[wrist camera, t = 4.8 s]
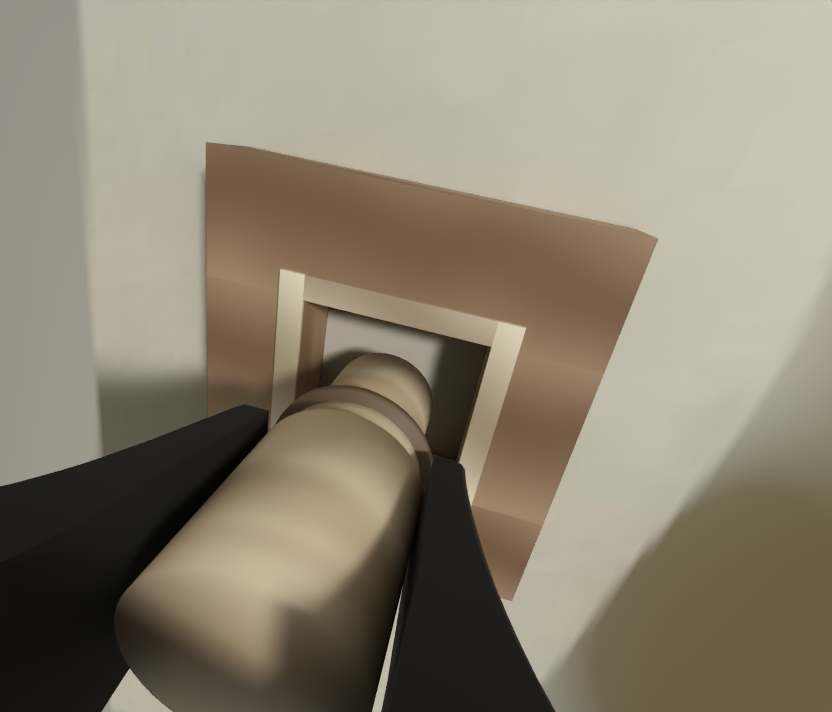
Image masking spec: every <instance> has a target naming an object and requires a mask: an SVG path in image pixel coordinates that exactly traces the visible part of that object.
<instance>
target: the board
mask: <svg viewBox="0 0 832 712" xmlns="http://www.w3.org/2000/svg"><path fill="white" fill-rule="evenodd" d="M657 241H658V238H655V237H653V236H651V235H648V234H646V233H644V232H641V231H639V230H636V229H633V228H629V227H624V226H619V225H614V224H610V223H605V222H600V221H596V220H591V219H586V218H581V217H577V216H572V215H567V214H563V213H558V212H553V211H548V210H544V209H539V208H534V207H530V206H525V205H520V204H515V203H511V202H506V201H501V200H497V199H492V198H487V197H482V196H478V195H473V194H468V193H464V192H459V191H454V190H449V189H445V188H440V187H435V186H431V185H426V184H421V183H416V182H412V181H407V180H402V179H398V178H393V177H388V176H383V175H379V174H374V173H369V172H365V171H360V170H355V169H350V168H346V167H341V166H336V165H332V164H327V163H322V162H317V161H313V160H308V159H303V158H299V157H294V156H289V155H284V154H280V153H275V152H270V151H266V150H261V149H256V148H251V147H245V146H235V145H226V144H217V143H208V142H206V252H207V405H208V417H211V416H213V415H216V414H218V413H221V412H223V411H226V410H229V409H231V408H234V407H237V406H240V405H243V404H246V405H250V406H253V407H257V408H260V409H264V410H268V411H269V419H268V432H269V431H270V430H271V429H272V427H274V426H275V424H276V422H277V420H278V419H279V417H280V416H281V414H282V413H283V412H284V411H285V410H286V409H287V407H288V406H289V405H290V404H291V403H292V402H293V401H295V400H296V399H297V398H298V397H300V396H301V395H303V394H305V393H306V392H309V391H311V390H313V389H316V388H319V387H320V378H321V369H322V360H323V351H324V342H325V333H326V324H327V315H328V307H332V308H336V309H340V310H344V311H348V312H352V313H356V314H360V315H364V316H368V317H373V318H377V319H381V320H385V321H389V322H393V323H397V324H401V325H405V326H409V327H413V328H417V329H421V330H425V331H429V332H433V333H437V334H441V335H445V336H450V337H454V338H458V339H462V340H466V341H470V342H474V343H478V344H482V345H486V346H487V350H486V353H485V357H484V361H483V364H482V368H481V372H480V375H479V379H478V382H477V386H476V390H475V393H474V397H473V401H472V404H471V408H470V411H469V415H468V419H467V422H466V426H465V430H464V433H463V437H462V440H461V444H460V448H459V451H458V455H457V459H456V460H452V459H449V458H445V457H441V456H438V455H434V454H432V463H433V459H434V457H438V458H441V459H445V460H449V461H452V462H456V463H460V464H462V466H463V467H464V469H465V476H466V484H467V490H468V496H469V501H470V505H471V510H472V514H473V518H474V522H475V525H476V529H477V532H478V535H479V539H480V542H481V546H482V549H483V552H484V555H485V558H486V561H487V564H488V567H489V570H490V572H491V575H492V578H493V581H494V583H495V586H496V589H497V591H498V594H499V596H500V598H503V599H506V600H510V601H512V600H513V597H514V595H515V592H516V590H517V587H518V585H519V582H520V580H521V577H522V575H523V572H524V570H525V567H526V565H527V563H528V560H529V558H530V555H531V553H532V550H533V548H534V545H535V543H536V540H537V538H538V535H539V533H540V530H541V528H542V525H543V523H544V520H545V518H546V516H547V513H548V511H549V508H550V506H551V503H552V501H553V498H554V496H555V493H556V491H557V488H558V486H559V483H560V481H561V478H562V476H563V473H564V471H565V468H566V466H567V464H568V461H569V459H570V456H571V454H572V451H573V449H574V446H575V444H576V441H577V439H578V436H579V434H580V431H581V429H582V426H583V424H584V421H585V419H586V417H587V414H588V412H589V409H590V407H591V404H592V402H593V399H594V397H595V394H596V392H597V389H598V387H599V384H600V382H601V379H602V377H603V374H604V372H605V370H606V367H607V365H608V362H609V360H610V357H611V355H612V352H613V350H614V347H615V345H616V342H617V340H618V337H619V335H620V332H621V330H622V327H623V325H624V322H625V320H626V318H627V315H628V313H629V310H630V308H631V305H632V303H633V300H634V298H635V295H636V293H637V290H638V288H639V285H640V283H641V280H642V278H643V275H644V273H645V271H646V268H647V266H648V263H649V261H650V258H651V256H652V253H653V251H654V248H655V246H656V243H657Z"/></svg>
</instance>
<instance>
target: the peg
mask: <svg viewBox="0 0 832 712" xmlns="http://www.w3.org/2000/svg"><path fill="white" fill-rule="evenodd" d="M432 406H433V400H432V393H431V390H430V387H429V384H428V383H427V381H426V379H425V378H424V376H423V375H422V374H421V372H420V371H419V370H418V369H417V368H416V367H414V366H413V365H412V364H411V363H409V362H408V361H406V360H404V359H402V358H400V357H397V356H394V355H390V354H385V353H372V354H366V355H363V356H360V357H358V358H356V359H354V360H353V361H351V362H350V363H349V364H348V365H346V367H345V368H344V369H343V370H342V371H341V373H340V374H339V375H338V376H337V378H336V379H335V380H334V381H333V383H332V384H331V385H330V386H324V387H320V388H316V389H313V390H311V391H309V392H306V393H305V394H303V395H301V396H300V397H298V398H297V399H296V400H295V401H293V402H292V403H291V404H290V405H289V406H288V407H287V409H286V410H285V411H284V412H283V413H282V414H281V416H280V417H279V419H278V420H277V422H276V424H275V426H274V427H272V429H271V430H270V431H269V432H268V433H267V434H266V435H265V436H264V437H263V439H262V440H261V441H260V442H259V443H258V444H257V445H256V446H255V447H254V449H253V450H252V451H251V452H250V453H249V454H248V455H247V456H246V457H245V459H244V460H243V461H242V462H241V463H240V464H239V465H238V466H237V467H236V469H235V470H234V471H233V472H232V473H231V474H230V475H229V476H228V477H227V479H226V480H225V481H224V482H223V483H222V484H221V485H220V486H219V487H218V489H217V490H216V491H215V492H214V493H213V494H212V495H211V496H210V497H209V499H208V500H207V501H206V502H205V503H204V504H203V505H202V506H201V507H200V509H199V510H198V511H197V512H196V513H195V514H194V515H193V516H192V517H191V519H190V520H189V521H188V522H187V523H186V524H185V525H184V526H183V528H182V529H181V530H180V531H179V532H178V533H177V534H176V535H175V536H174V538H173V539H172V540H171V541H170V542H169V543H168V544H167V545H166V546H165V548H164V549H163V550H162V551H161V552H160V553H159V554H158V555H157V556H156V558H155V559H154V560H153V561H152V562H151V563H150V564H149V565H148V566H147V568H146V569H145V570H144V571H143V572H142V573H141V574H140V575H139V576H138V578H137V579H136V580H135V581H134V582H133V583H132V584H131V585H130V586H129V588H128V589H127V590H126V591H125V592H124V594H123V595H122V596H121V598H120V600H119V602H118V604H117V606H116V610H115V615H114V630H115V636H116V640H117V643H118V646H119V649H120V651H121V653H122V655H123V657H124V659H125V661H126V663H127V664H128V666H129V667H130V669H131V670H132V672H133V673H134V674H135V676H136V677H137V678H138V679H139V681H140V682H141V683H142V684H143V685H144V686H145V687H146V688H147V689H148V691H149V692H150V693H151V694H152V695H153V696H155V697H156V698H157V699H158V700H159V701H160V702H161V703H162V704H164V705H165V706H166V707H168V708H169V709H170V710H171V711H173V712H372V709H373V705H374V701H375V697H376V692H377V688H378V684H379V680H380V676H381V672H382V668H383V664H384V660H385V656H386V652H387V648H388V644H389V640H390V636H391V631H392V627H393V623H394V619H395V615H396V611H397V607H398V603H399V599H400V595H401V591H402V587H403V583H404V579H405V575H406V570H407V566H408V562H409V558H410V554H411V550H412V546H413V542H414V537H415V533H416V528H417V522H418V518H419V514H420V510H421V506H422V502H423V498H424V494H425V490H426V486H427V482H428V478H429V474H430V470H431V467H432V454H431V450H430V447H429V444H428V442H427V439H426V437H425V433H426V429H427V426H428V423H429V419H430V416H431V412H432Z"/></svg>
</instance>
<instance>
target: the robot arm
mask: <svg viewBox="0 0 832 712" xmlns="http://www.w3.org/2000/svg"><path fill="white" fill-rule="evenodd" d="M268 419H269V411H268V410H264V409H260V408H257V407H253V406H250V405H246V404H243V405H240V406H237V407H234V408H231V409H229V410H226V411H223V412H221V413H218V414H216V415H213V416H211V417H208V418H206V419H203V420H201V421H198V422H196V423H193V424H191V425H188V426H186V427H183V428H181V429H178V430H175V431H173V432H170V433H168V434H165V435H163V436H160V437H158V438H155V439H152V440H150V441H147V442H144V443H141V444H138V445H136V446H133V447H130V448H127V449H124V450H121V451H119V452H116V453H113V454H110V455H107V456H105V457H102V458H99V459H96V460H93V461H90V462H87V463H84V464H81V465H77V466H74V467H71V468H67V469H64V470H61V471H57V472H54V473H50V474H46V475H43V476H39V477H36V478H32V479H28V480H25V481H21V482H17V483H13V484H9V485H5V486H0V712H101V711H102V710H103V708H104V707H105V705H106V704H107V702H108V701H109V699H110V698H111V696H112V694H113V693H114V691H115V690H116V688H117V687H118V685H119V683H120V682H121V680H122V679H123V677H124V676H125V674H126V673H127V671H128V670H129V668H130V667H129V666H128V664H127V663H126V661H125V659H124V657H123V655H122V653H121V651H120V649H119V646H118V643H117V640H116V636H115V630H114V615H115V610H116V606H117V604H118V602H119V600H120V598H121V596H122V595H123V594H124V592H125V591H126V590H127V589H128V588H129V586H130V585H131V584H132V583H133V582H134V581H135V580H136V579H137V578H138V576H139V575H140V574H141V573H142V572H143V571H144V570H145V569H146V568H147V566H148V565H149V564H150V563H151V562H152V561H153V560H154V559H155V558H156V556H157V555H158V554H159V553H160V552H161V551H162V550H163V549H164V548H165V546H166V545H167V544H168V543H169V542H170V541H171V540H172V539H173V538H174V536H175V535H176V534H177V533H178V532H179V531H180V530H181V529H182V528H183V526H184V525H185V524H186V523H187V522H188V521H189V520H190V519H191V517H192V516H193V515H194V514H195V513H196V512H197V511H198V510H199V509H200V507H201V506H202V505H203V504H204V503H205V502H206V501H207V500H208V499H209V497H210V496H211V495H212V494H213V493H214V492H215V491H216V490H217V489H218V487H219V486H220V485H221V484H222V483H223V482H224V481H225V480H226V479H227V477H228V476H229V475H230V474H231V473H232V472H233V471H234V470H235V469H236V467H237V466H238V465H239V464H240V463H241V462H242V461H243V460H244V459H245V457H246V456H247V455H248V454H249V453H250V452H251V451H252V450H253V449H254V447H255V446H256V445H257V444H258V443H259V442H260V441H261V440H262V439H263V437H264V436H265V435H266V434H267V433H268ZM381 712H555V710H554V708H553V707H552V705H551V703H550V701H549V699H548V697H547V695H546V694H545V692H544V690H543V688H542V686H541V684H540V683H539V681H538V679H537V677H536V675H535V673H534V671H533V669H532V667H531V665H530V663H529V661H528V659H527V657H526V655H525V653H524V651H523V649H522V646H521V644H520V642H519V640H518V638H517V636H516V634H515V631H514V629H513V627H512V625H511V622H510V620H509V618H508V616H507V613H506V611H505V609H504V606H503V604H502V601H501V599H500V596H499V594H498V591H497V589H496V586H495V583H494V581H493V578H492V575H491V572H490V570H489V567H488V564H487V561H486V558H485V555H484V552H483V549H482V546H481V542H480V539H479V535H478V532H477V529H476V525H475V522H474V518H473V514H472V510H471V505H470V501H469V496H468V490H467V484H466V476H465V469H464V467H463V466H462V464H460V463H456V462H452V461H449V460H445V459H441V458H438V457H434V459H433V463H432V467H431V470H430V474H429V478H428V482H427V486H426V490H425V494H424V498H423V502H422V506H421V510H420V514H419V518H418V522H417V528H416V533H415V537H414V542H413V546H412V550H411V554H410V558H409V562H408V566H407V570H406V575H405V579H404V583H403V588H402V595H401V601H400V607H399V613H398V619H397V625H396V632H395V638H394V644H393V650H392V656H391V663H390V669H389V675H388V681H387V686H386V691H385V696H384V701H383V706H382V711H381Z"/></svg>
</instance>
